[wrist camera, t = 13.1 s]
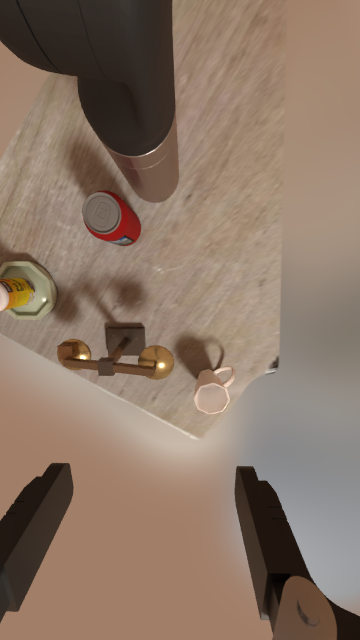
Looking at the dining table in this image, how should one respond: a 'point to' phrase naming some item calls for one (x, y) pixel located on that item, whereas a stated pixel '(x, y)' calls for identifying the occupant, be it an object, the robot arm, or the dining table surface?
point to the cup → (212, 391)
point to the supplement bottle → (16, 293)
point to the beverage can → (111, 218)
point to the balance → (119, 355)
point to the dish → (42, 283)
